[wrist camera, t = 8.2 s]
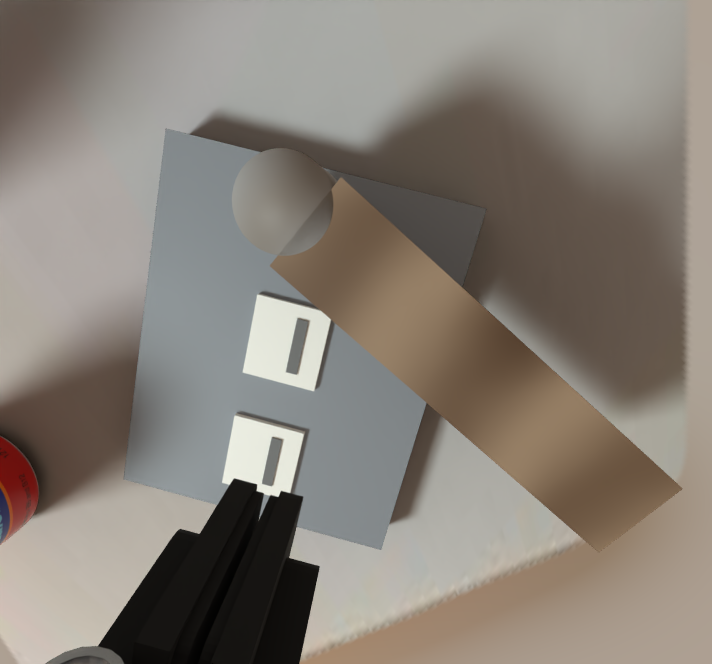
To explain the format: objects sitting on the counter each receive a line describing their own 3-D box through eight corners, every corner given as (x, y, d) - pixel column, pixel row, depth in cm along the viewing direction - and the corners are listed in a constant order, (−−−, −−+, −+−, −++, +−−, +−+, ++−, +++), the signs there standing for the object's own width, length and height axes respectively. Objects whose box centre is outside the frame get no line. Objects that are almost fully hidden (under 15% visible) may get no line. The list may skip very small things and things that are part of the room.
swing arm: (246, 215, 19) (208, 213, 15) (302, 141, 18) (277, 119, 14) (561, 492, 21) (598, 552, 17) (627, 438, 20) (682, 488, 16)
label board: (185, 136, 23) (140, 117, 19) (478, 210, 23) (496, 206, 19) (142, 461, 28) (99, 501, 24) (382, 527, 28) (379, 579, 24)
